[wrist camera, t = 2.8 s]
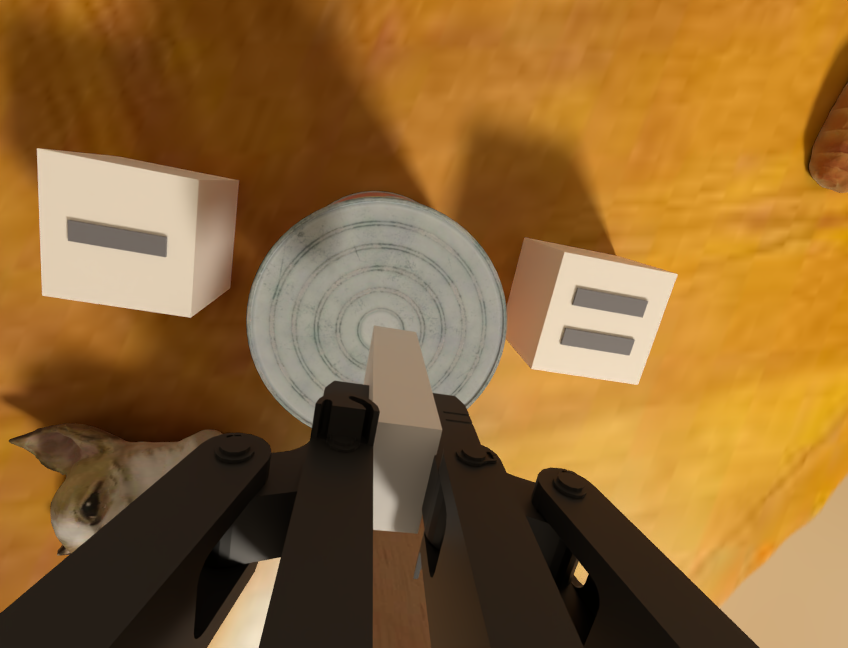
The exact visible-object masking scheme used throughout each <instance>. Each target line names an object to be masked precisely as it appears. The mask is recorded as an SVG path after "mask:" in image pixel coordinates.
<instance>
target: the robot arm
mask: <svg viewBox="0 0 848 648" xmlns="http://www.w3.org/2000/svg"><path fill="white" fill-rule="evenodd" d="M422 515H423V523H424V533H423V537H422V541H421V545H420V549H419V554H418V558H417V562H416V566H415V570H414V577H413V579H418V578H419V574H420V570H421V569H422V573H423V582H424V590H425V599H426V607H427V616H428V625H429V633H430V642H431V648H759V647H758V646H757V645H756V644H755V643H754V642H753V641H752V640H751V639H750V638H749V637H748V636H747V635H746V634H745V633H744V632H743V631H742V630H741V629H740V628H739V627H738V626H737V625H736V624H735V623H734V622H733V621H732V620H731V619H729V618H728V617H727V615H726V614H724V613H723V612H722V611H721V610H720V609H719V608H718V607H717V606H716V605H715V604H714V603H713V602H712V601H711V600H710V599H709V598H708V597H707V596H706V595H705V594H704V593H703V592H702V591H701V590H700V589H699V588H698V587H697V586H696V585H695V584H694V583H693V582H692V581H691V580H690V579H689V578H688V577H687V576H686V575H685V574H684V573H683V572H682V571H681V570H680V569H679V568H678V567H676V566H675V565H674V564H673V563H672V562H671V561H670V560H669V559H668V558H667V557H666V556H665V555H664V554H663V553H662V552H661V551H660V550H659V549H658V548H657V547H656V546H655V545H654V544H653V543H652V542H651V541H650V540H649V539H648V538H647V537H646V536H645V535H644V534H643V533H642V532H641V531H640V530H639V529H638V528H637V527H636V526H635V525H634V524H633V523H632V522H630V521H629V520H628V519H627V518H626V517H625V516H624V515H623V514H622V513H621V512H620V511H619V510H618V509H617V508H616V507H615V506H614V505H613V504H612V503H611V502H610V501H609V500H608V499H607V498H606V497H605V496H604V495H603V494H602V493H601V492H600V491H599V490H598V489H597V488H596V487H595V486H594V485H592V484H591V483H590V482H589V481H587V480H586V479H585V478H583V477H581V476H579V475H577V474H576V473H575V472H572V471H570V470H568V471H567V470H566V469H561V468H547V469H543V470H542V471H541V472H540V473H539V474H538V477H537V480H536V483H535V482H531V481H528V480H525V479H522V478H519V477H516V476H513V475H511V474H508V473H506V471H505V468H504V466H503V464H502V462H501V460H500V458H499V457H498V456H497V454H496V453H494V452H493V451H491V450H490V449H489V448H487V447H485V446H483V445H481V444H480V441H479V439H478V436H477V434H476V431H475V429H474V426H473V424H472V421H471V419H470V417H469V414H468V411H467V409H466V406H465V405H464V404H463V403H462V402H461V401H460V400H459V399H458V398H457V397H456V396H452V395H445V394H438V393H432V389H431V386H430V382H429V378H428V374H427V371H426V367H425V363H424V359H423V356H422V352H421V348H420V344H419V341H418V337H417V333H416V332H412V331H406V330H400V329H394V328H387V327H381V326H375V325H374V327H373V333H372V339H371V344H370V350H369V356H368V361H367V367H366V373H365V378H364V384H356V383H349V382H341V381H333V382H332V383H330V384H329V385H328V386H326V387H325V390H324V394H323V396H322V397H320V398H319V399H318V401H317V402H316V404H315V410H314V417H313V424H312V431H311V438H310V441H309V442H308V443H307V444H306V445H304V446H302V447H300V448H297V449H294V450H291V451H285V452H276V453H271V449H270V445H269V444H268V443H267V442H266V441H265V440H263V439H262V438H259V437H257V436H254V435H252V434H245V433H226V434H222V435H218V436H214V437H212V438H210V439H208V440H206V441H205V442H203V443H201V444H200V445H199V446H198V447H197V448H196V449H194V450H193V451H192V452H191V453H190V454H188V455H187V456H186V457H185V458H184V459H183V460H181V461H180V462H179V463H178V464H177V465H175V466H174V467H173V468H172V469H171V470H169V471H168V472H167V473H166V474H165V475H164V476H162V477H161V478H160V479H159V480H158V481H156V482H155V483H154V484H153V485H152V486H151V487H149V488H148V489H147V490H146V491H145V492H143V493H142V494H141V495H140V496H139V497H138V498H136V499H135V500H134V501H133V502H132V503H130V504H129V505H128V506H127V507H126V508H125V509H123V510H122V511H121V512H120V513H119V514H117V515H116V516H115V517H114V518H113V519H111V520H110V521H109V522H108V523H107V524H106V525H104V526H103V527H102V528H101V529H100V530H98V531H97V532H96V533H95V534H94V535H93V536H91V537H90V538H89V539H88V540H87V541H85V542H84V543H83V544H82V545H81V546H80V547H78V548H77V549H76V550H75V551H74V552H72V553H71V554H70V555H69V556H68V557H67V558H65V559H64V560H63V561H62V562H61V563H59V564H58V565H57V566H56V567H55V568H53V569H52V570H51V571H50V572H49V573H48V574H46V575H45V576H44V577H43V578H42V579H40V580H39V581H38V582H37V583H36V584H35V585H33V586H32V587H31V588H30V589H29V590H27V591H26V592H25V593H24V594H23V595H22V596H20V597H19V598H18V599H17V600H16V601H14V602H13V603H12V604H11V605H10V606H8V607H7V608H6V609H5V610H4V611H3V612H1V613H0V648H207V647H208V645H209V643H210V642H211V640H212V639H213V637H214V635H215V634H216V632H217V631H218V629H219V627H220V626H221V624H222V623H223V621H224V619H225V618H226V616H227V615H228V613H229V612H230V610H231V608H232V607H233V605H234V604H235V602H236V600H237V599H238V597H239V596H240V594H241V592H242V591H243V589H244V588H245V586H246V584H247V583H248V581H249V580H250V578H251V576H252V575H253V573H254V572H255V569H256V566H257V564H258V561H262V560H267V559H273V558H278V557H281V560H280V564H279V568H278V572H277V576H276V580H275V584H274V588H273V592H272V596H271V600H270V604H269V608H268V612H267V616H266V620H265V624H264V628H263V633H262V637H261V641H260V645H259V648H373V530H382V531H393V532H404V533H415V534H418V530H419V526H420V522H421V518H422ZM578 561H579V562H580V563H581V565H582V566H583V567H584V568H585V570H586V571H587V572H588V573H589V575H588V577H587V580H586V583H585V584H584V585H582V584H581V583H580V582H579V581H578V580H577V578H576V577H575V576H574V572H575V569H576V567H577V564H578Z"/></svg>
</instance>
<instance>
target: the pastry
mask: <svg viewBox="0 0 848 648" xmlns="http://www.w3.org/2000/svg"><path fill="white" fill-rule="evenodd" d="M809 170H810V173H811V176H812V178H813V179H814V180H815V181H816V182H817V183H818V184H819V185H820V186H822V187H824V188H828V189H831V190H833V191H836V192H839V193H846V192H848V82H847V84H846V86H845V87H844V89H843V91H842V92H841V94H840V95H839V97H838V98H837V101H836V103H835V105H834V106H833V108H832V109H831V111H830V113H829V115H828V117H827V119H826V121H825V123H824V125H823V127H822V128H821V130H820V132H819V134H818V136H817V138H816V141H815V143H814V145H813V148H812V156H811V160H810V163H809Z"/></svg>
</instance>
